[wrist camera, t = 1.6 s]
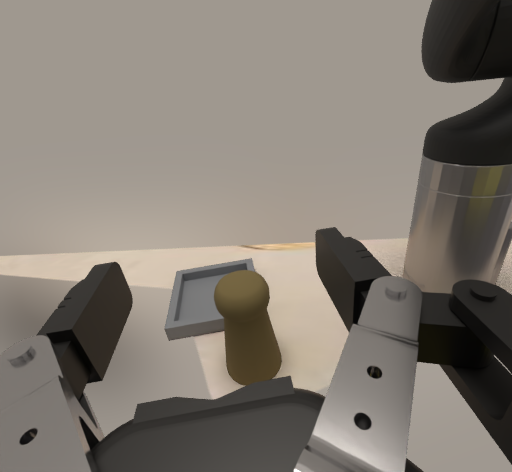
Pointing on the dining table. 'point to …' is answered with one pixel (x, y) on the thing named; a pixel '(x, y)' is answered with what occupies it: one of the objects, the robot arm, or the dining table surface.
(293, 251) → the dining table surface
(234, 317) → the cork
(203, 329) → the tray
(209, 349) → the dining table surface
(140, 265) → the dining table surface
